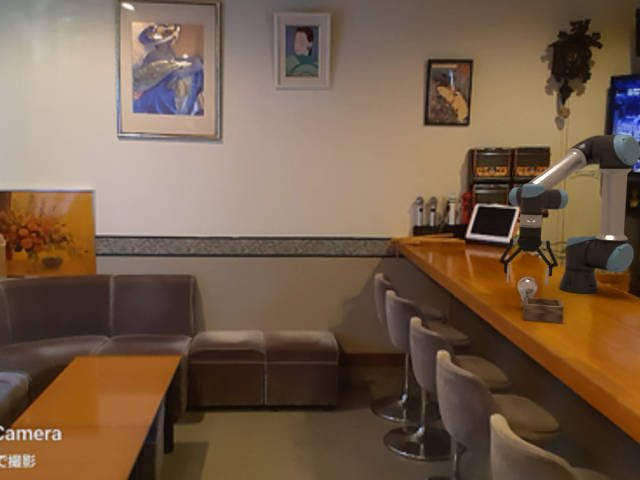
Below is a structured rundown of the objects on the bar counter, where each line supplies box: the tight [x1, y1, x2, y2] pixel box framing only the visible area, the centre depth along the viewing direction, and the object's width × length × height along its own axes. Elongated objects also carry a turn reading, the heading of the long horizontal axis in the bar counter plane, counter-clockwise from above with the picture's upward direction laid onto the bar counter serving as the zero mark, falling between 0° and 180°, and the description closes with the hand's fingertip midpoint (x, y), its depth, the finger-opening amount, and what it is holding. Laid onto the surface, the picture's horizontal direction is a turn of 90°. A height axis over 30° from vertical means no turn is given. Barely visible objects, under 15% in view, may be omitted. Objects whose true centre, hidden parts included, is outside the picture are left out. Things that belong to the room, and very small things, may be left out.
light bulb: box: [517, 276, 538, 307], centre depth 218 cm, size 7×7×12 cm
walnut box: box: [522, 296, 564, 324], centre depth 207 cm, size 12×12×6 cm
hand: (526, 283), depth 218 cm, fingers open, 13 cm apart
